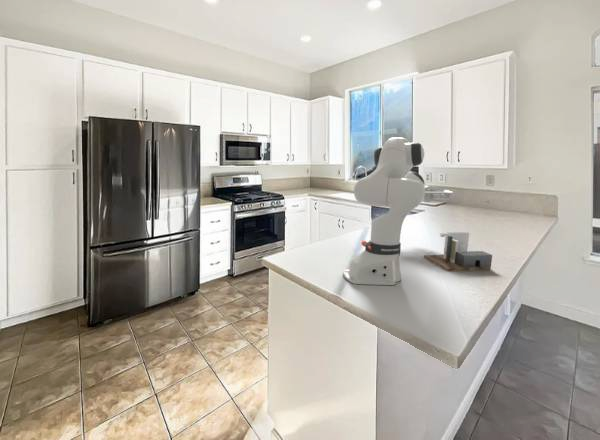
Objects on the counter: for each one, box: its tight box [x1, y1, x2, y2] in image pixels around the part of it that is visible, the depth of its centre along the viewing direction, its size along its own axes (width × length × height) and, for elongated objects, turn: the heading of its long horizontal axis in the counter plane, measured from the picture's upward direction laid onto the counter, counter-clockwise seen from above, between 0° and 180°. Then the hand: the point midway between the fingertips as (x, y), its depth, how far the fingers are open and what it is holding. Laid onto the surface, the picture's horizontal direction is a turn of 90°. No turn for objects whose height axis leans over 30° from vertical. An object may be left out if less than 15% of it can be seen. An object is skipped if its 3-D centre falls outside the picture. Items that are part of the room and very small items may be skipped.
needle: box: [445, 236, 453, 262], centre depth 141 cm, size 1×1×12 cm
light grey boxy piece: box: [439, 231, 470, 252], centre depth 143 cm, size 14×12×11 cm
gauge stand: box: [423, 237, 493, 272], centre depth 143 cm, size 20×19×11 cm
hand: (442, 196), depth 160 cm, fingers closed
